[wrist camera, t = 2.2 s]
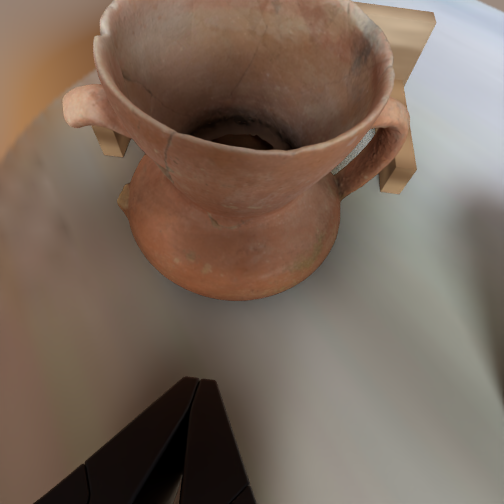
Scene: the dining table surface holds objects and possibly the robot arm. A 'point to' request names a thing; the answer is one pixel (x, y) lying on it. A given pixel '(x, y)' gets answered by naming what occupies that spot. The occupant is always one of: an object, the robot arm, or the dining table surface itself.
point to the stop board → (405, 57)
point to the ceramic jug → (241, 131)
